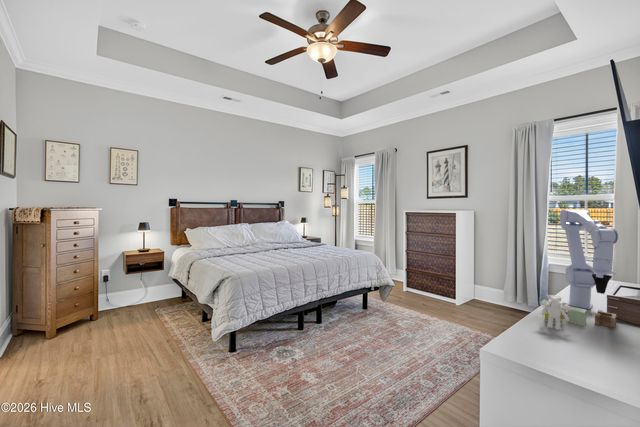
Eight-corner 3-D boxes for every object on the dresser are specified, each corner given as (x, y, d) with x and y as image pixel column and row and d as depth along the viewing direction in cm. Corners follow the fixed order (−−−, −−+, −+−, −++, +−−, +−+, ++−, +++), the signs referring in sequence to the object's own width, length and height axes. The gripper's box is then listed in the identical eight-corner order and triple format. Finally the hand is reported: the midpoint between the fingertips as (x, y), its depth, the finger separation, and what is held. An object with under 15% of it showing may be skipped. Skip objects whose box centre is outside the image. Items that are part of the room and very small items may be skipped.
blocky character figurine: (537, 325, 114) (539, 292, 114) (540, 322, 117) (542, 291, 116) (568, 333, 107) (570, 299, 107) (570, 330, 110) (572, 296, 110)
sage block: (569, 318, 122) (570, 306, 122) (586, 322, 118) (586, 309, 118) (567, 322, 118) (567, 309, 118) (584, 326, 115) (584, 312, 115)
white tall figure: (556, 319, 120) (557, 294, 120) (565, 325, 115) (567, 299, 115) (541, 318, 121) (542, 294, 121) (550, 324, 116) (551, 298, 115)
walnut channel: (562, 310, 131) (562, 301, 131) (616, 322, 119) (616, 312, 119) (557, 316, 124) (558, 306, 124) (613, 329, 112) (614, 318, 112)
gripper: (614, 262, 115) (612, 299, 116) (618, 258, 125) (616, 292, 126) (589, 259, 120) (587, 294, 121) (595, 256, 130) (593, 288, 131)
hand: (600, 293), depth 124 cm, fingers closed
